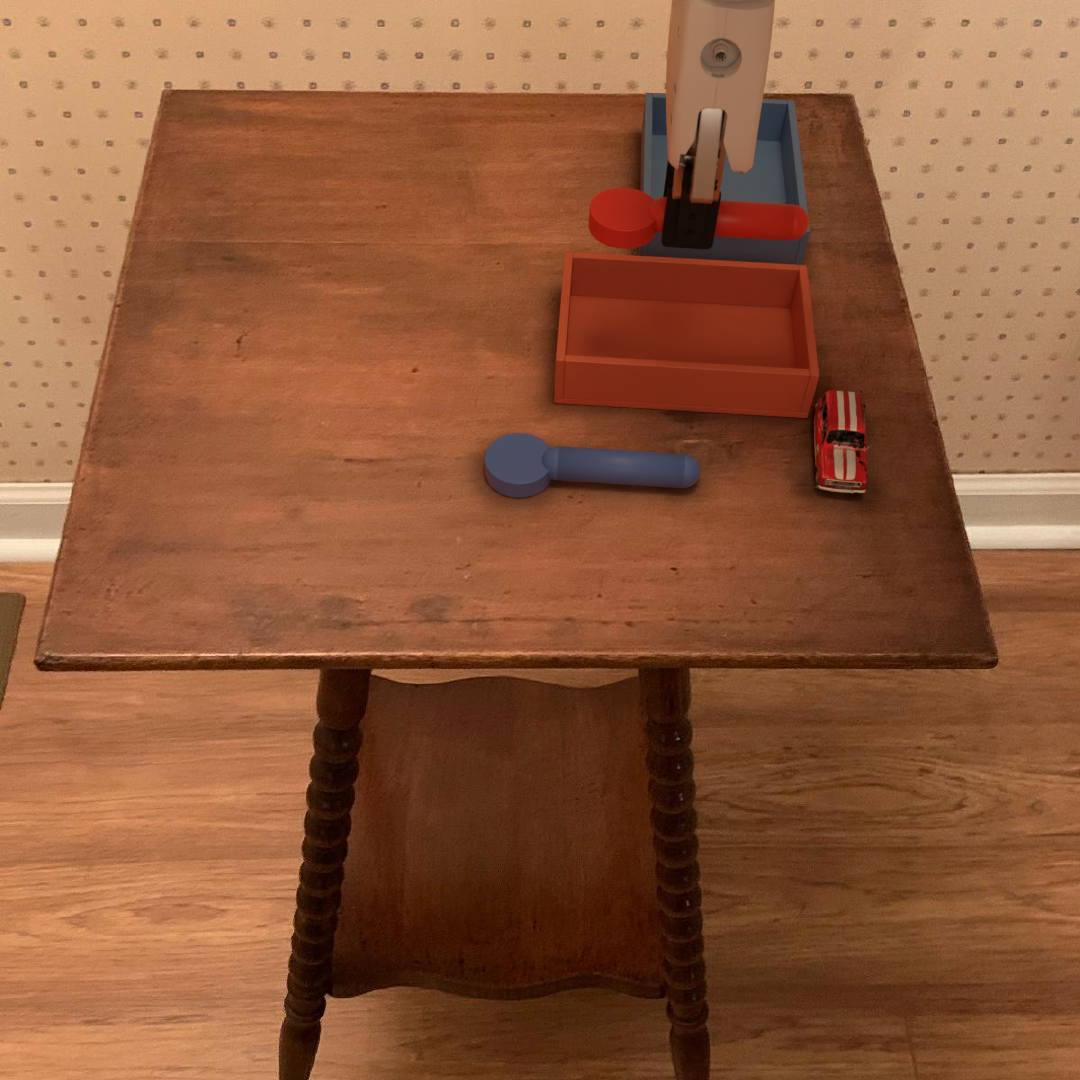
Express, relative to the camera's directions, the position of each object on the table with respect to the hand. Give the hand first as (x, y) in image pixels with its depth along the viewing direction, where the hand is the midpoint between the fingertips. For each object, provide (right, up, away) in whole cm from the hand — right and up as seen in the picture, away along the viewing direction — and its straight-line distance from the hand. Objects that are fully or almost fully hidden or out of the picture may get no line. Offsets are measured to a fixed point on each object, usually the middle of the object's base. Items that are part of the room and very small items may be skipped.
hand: (686, 228), depth 76 cm
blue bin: (+5, +7, +20) cm, 21 cm away
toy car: (+10, -14, +3) cm, 18 cm away
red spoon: (+1, 0, 0) cm, 1 cm away
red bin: (+1, -7, +9) cm, 11 cm away
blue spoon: (-6, -16, +1) cm, 17 cm away
